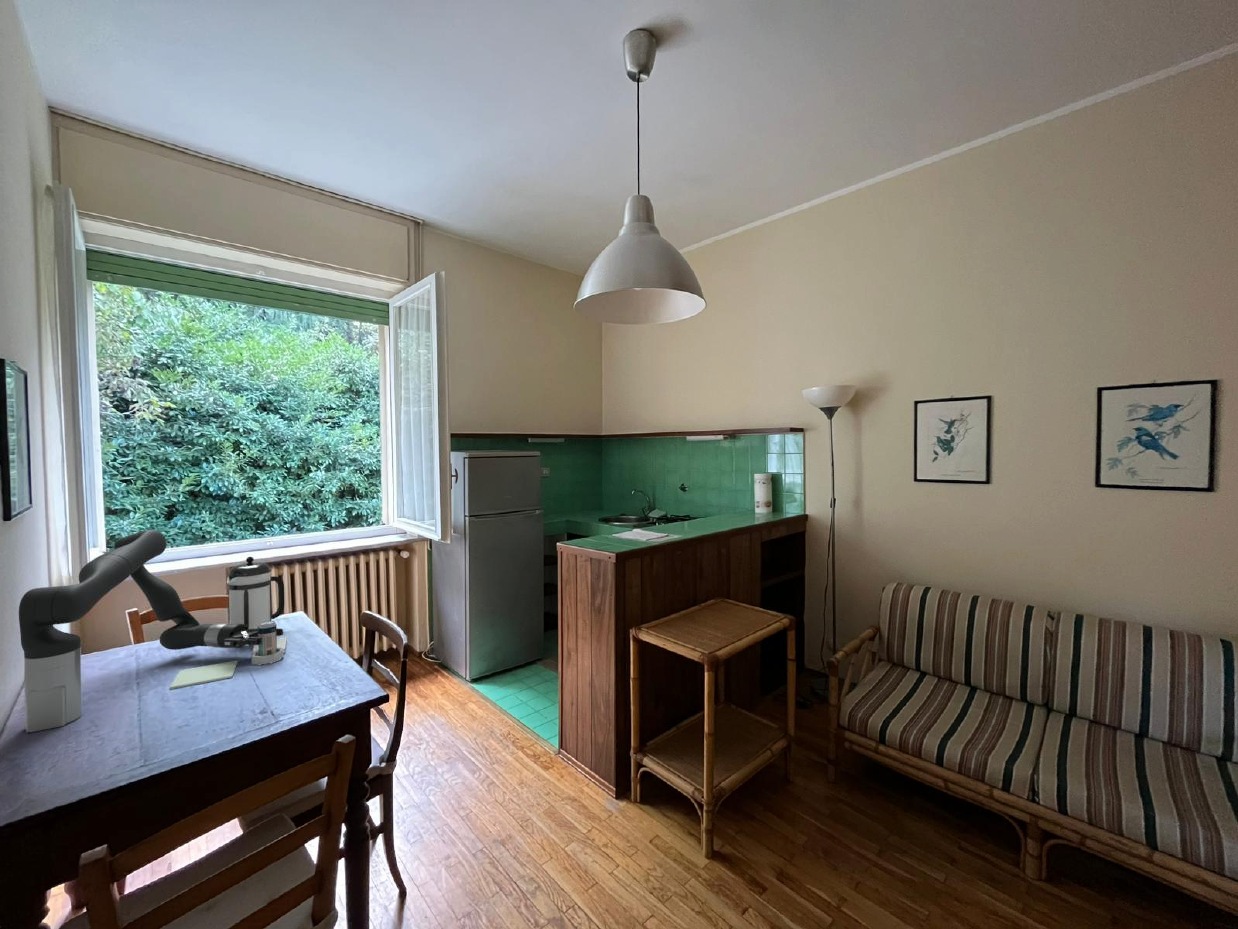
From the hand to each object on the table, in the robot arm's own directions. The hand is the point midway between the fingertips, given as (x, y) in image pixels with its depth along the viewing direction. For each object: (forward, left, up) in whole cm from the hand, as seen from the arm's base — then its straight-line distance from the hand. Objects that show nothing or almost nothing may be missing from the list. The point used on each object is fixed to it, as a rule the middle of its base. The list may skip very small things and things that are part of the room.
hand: (271, 636), depth 161 cm
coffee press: (+30, +7, -8) cm, 32 cm away
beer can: (+1, +1, -8) cm, 8 cm away
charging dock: (+8, +1, -8) cm, 11 cm away
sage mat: (-3, +16, -8) cm, 18 cm away
